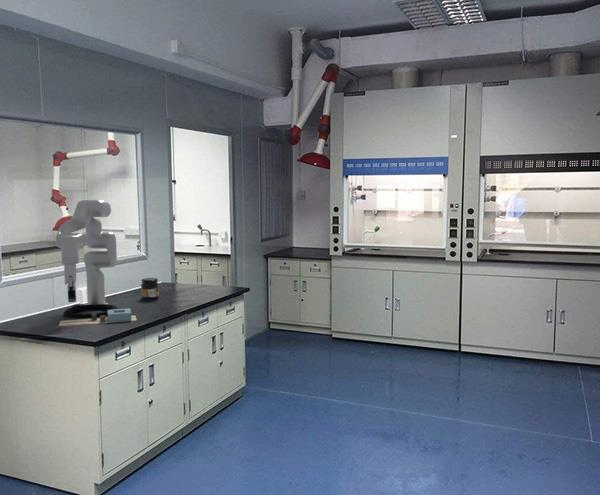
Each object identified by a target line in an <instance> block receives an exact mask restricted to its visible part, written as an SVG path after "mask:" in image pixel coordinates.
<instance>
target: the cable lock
mask: <svg viewBox="0 0 600 495" xmlns="http://www.w3.org/2000/svg"><path fill="white" fill-rule="evenodd" d="M114 309H119V308H118V307H117V306H115V305H113V304H112V305H111V304H109V303H108V304H88V305H85V304H73V306H71V307H69V308H67V309H64V311H63V316H64V318H69V319H92V314H94V313H95V312H93V313H82V312H89V311H100V312H96V313H97V318H100V316H102V315H105V317H108V310H114ZM101 311H102V312H101ZM80 312H81V313H80Z"/></svg>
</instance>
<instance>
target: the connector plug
mask: <svg viewBox="0 0 600 495" xmlns="http://www.w3.org/2000/svg"><path fill="white" fill-rule="evenodd" d="M66 285H67V286H66V287H67V288H68V284H66ZM72 286H73V285H72ZM74 290H75V298H73V299H68V298H67V301H68V303H74V302H75V303H76V302H77V294H76V292H77V290H76V284H75V285H74Z"/></svg>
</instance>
